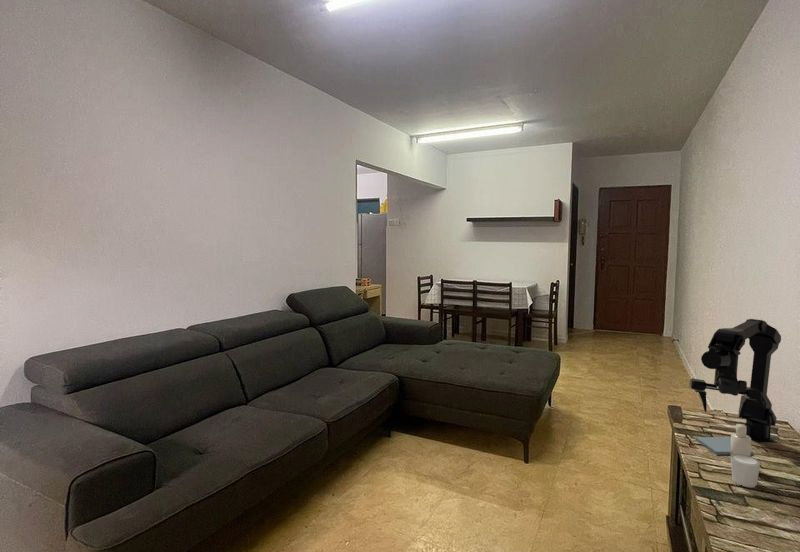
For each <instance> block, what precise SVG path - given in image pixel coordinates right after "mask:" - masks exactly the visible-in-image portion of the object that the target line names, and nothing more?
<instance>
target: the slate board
mask: <svg viewBox="0 0 800 552" xmlns="http://www.w3.org/2000/svg"><path fill="white" fill-rule="evenodd" d="M695 441H696V442H698V443H699V444H701V446H703V447H704V448H706V449H707V450H708V451H710V452H712V453H713V454H715V455H716V456H717V455H718V456H719V455H722V456H725V455H729V456H730V453H731V436H730V437H728V436H727V437H725V436H723V437H722V436H721V437H720V436H719V437H718V436H716V437H712V436H707V437H706V436H704V437H703V436H701V437H700V436H696V437H695ZM751 454H753V455H754V451H753V450H751ZM753 455H752V456H753Z"/></svg>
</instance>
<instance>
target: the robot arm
mask: <svg viewBox="0 0 800 552" xmlns="http://www.w3.org/2000/svg"><path fill="white" fill-rule="evenodd" d="M747 339H748V344H749V346H750V348H751V349H752V351H753V359H752V367H751V375H750V376H751V377H750V384H749V386H748V383H747V381H746V380H741V379H739V380H738V365H739V355H741V350H742V348H743V347H744V346H745V345H746V340H747ZM781 342H782V335H781V334H780V332H779V331H778V329H777V328H775V327H773V326H772V325H770V324H768V322H767V321H765V320H763V319H756V318H749V319H746V320H745V321H744V322H742V323H740V324H738V325H736V326H734V327H731V328H730V327H728V328H727V327H726V328H725V327H724V328H723V327H722V328H718V329H716V331H715V332H714V333H713V335H712V337H711V340H710V342H709V344H708V345H707V349H708V351H706V352H705V351H704V353H702V355H701V358H700V360H701V363H702V365H703V366H704V367H706V368H707V369H709V370H714V371H715V372H714V381H713V383H708V382H706V380H704V379H699V378H691V379H689V387H690V389H692V390H694V392H695V393H698V395H699V397H700V400H701V404H702V407H703V411H704V412H705V413H706V412H707V410H708V409H707V405H708V404H707V391H706V390H711V391H713V390H714V391H718V392H719V393H720V394H724V395H726V394H727V395H732V396H734V397H736V396H739V395H741V397H740V402H739V407H738V415H737V416H738V419H743V420H746V421H745V424H744V425H745V426H746V427H747V428H746V435H747V436H749V437H751V441H755V442H775V439H773V438H771V427H776V423H777V419H778V418H777V417H776V414H775V413H774V411H773V409H772V406H773V405H772V402H771V400H770V398H769V397H768V387H769V386H768V385H769V377H770V369H771V367H770V366H771V360H772V355H774V353H775V352H776V351H777V350H778V348H779V345H780V344H781Z"/></svg>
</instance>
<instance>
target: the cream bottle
mask: <svg viewBox="0 0 800 552" xmlns="http://www.w3.org/2000/svg"><path fill="white" fill-rule="evenodd" d="M746 428H747V427H746V426H745V424H742V423H741V424H740V423H736V424H735V432H732V433H731V434H730V438H731V453H730V455H729V456H730V457H729V458H730V460H729V462H730V463H731V455H733V454H741V455H746V456H750V457H751V456H752V455H751V451H752V448H751V447H752V439H751V437H749V436H747V435H746Z"/></svg>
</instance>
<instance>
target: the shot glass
mask: <svg viewBox="0 0 800 552" xmlns="http://www.w3.org/2000/svg"><path fill="white" fill-rule="evenodd" d="M730 466H731V467H730V468H731V478H732V481H733V482H734V483H735V484H737V485H739V486H741V485H742V487H745V488H756V487H757V486H756V485H757V484H758V478H759V472H760V466H761V462H760V461H759V460H758V459H756V458H755V457H752V456H751V455H750V456H746V455H741V454H733V455H731V462H730ZM755 486H756V487H755Z"/></svg>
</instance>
